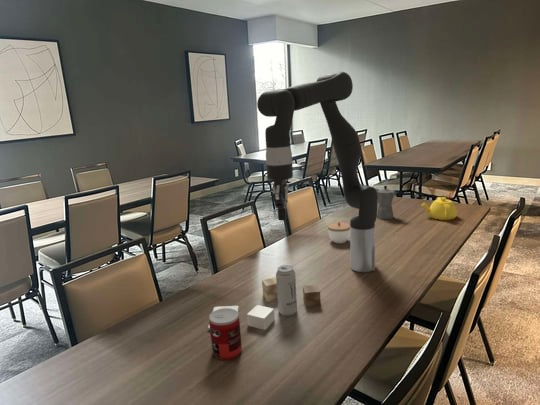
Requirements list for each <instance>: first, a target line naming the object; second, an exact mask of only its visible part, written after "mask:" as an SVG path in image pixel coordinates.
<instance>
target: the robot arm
mask: <svg viewBox="0 0 540 405" xmlns="http://www.w3.org/2000/svg"><path fill="white" fill-rule="evenodd" d="M353 87H354V86H353V80H352V78H351V75H349V73H347V72H345V71H336V72H332V73H328V74H324V75H320V76H319V77H318V78H317V79H316V81H312V82H307V83H301V84H300V83H299V84H296V85H292V86H289V87H284V88H281V89H280V88H279V89H273V90H266V91H264V92H262V93H261V94H260V96H259V97H258V98H257V102H256V104H257V105H256V107H257V109H258V112H259V113H260V114H261V115H263V116H264V117H268V118H273V117H276V118H275V121H274V124H272V125H269V126H268V127H266V128H265V165H266V179H267V180H270V181H274V185H272V191H273V192H272V199H273V204H274V207H275V208H276V209H277V215H278V216H277V218H278V221H286V220H287V205H288V202H289V201H288V200H289V199H288V198H289V187H290V186H289V183H287V180H290V179H292V178H293V176H294V172H293V171H294V170H293V152H292V148H291V147H292V146H291V128H292V122H293V117H294V113H295V111H299V110H303V109H306V108H309V107H311V106H314V105H317V104H320V107H321V110H322V112H323V115H324V118H325V121H326V123H327V126H328V131H329V134H330V137H331V141H332V145H333V150H334V154H335V156H336V160H337V163H338V166H339V173H340V175H341V180H342V187H343V193H344V198H345V201H346V204H347V205H348V206H349V207H350V208H354V209H358V216H357V215H356V216H353V217H352V218H350V221H349V224H350V237H349V239H350V240H349V241H350V242H349V245H350V248H349V249H350V251H349V252H350V253H349V254H350V260H349V261H350V263H349V264H350V269H351V270H353V271H355V272H357V273H358V272H359V273H368V272H369V273H370V272H375V271H376V245H375V243H376V242H375V240H376V239H375V238H376V235H375V234H376V233H375V232H376V230H375V229H376V228H375V227H376V221H377V219H378V218H377V213H378V207H379V203H378V195H377V191H376V189H377V188H375V187H374V186H371V185H364V184H362V183H361V182H360V179H359V175H358V167H359V164H360V161H361V160H360V159H361V156H362V146H361V143H360V142H361V141H360V136H359V134H358V133H357V130H355V128H354V127H353V125H352V124H351V123H350V122H349V121H347V119H346V118H345V117H344V116H343V115H342V114H341V112H340V109H339V107H338V104H337V102H341V101H343V100H346V99H348V98H349V97H350V96H351V95H352V92H353Z"/></svg>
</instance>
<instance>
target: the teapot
mask: <svg viewBox="0 0 540 405" xmlns="http://www.w3.org/2000/svg"><path fill="white" fill-rule="evenodd" d="M421 207H422V208H423V209H424V210H425V211H426V212H427V213H428V216H429V217H430V218H431V219H433V218H434V219H433V220H436V219H439V220H438V221H452V220H454V219H455V218H456V217H457V216H458V210H457V207H456V205H455V204H454V202H453V201H452V200H450V199H448V198H446V196H445V197H444V196H442V197H440V196H438V197H436V199H435V200H434V201H433V202H432V203H431V204H430V207H429V206H428V204H427V203H426V202H423V203H421ZM451 219H452V220H451Z"/></svg>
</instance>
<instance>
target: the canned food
mask: <svg viewBox="0 0 540 405" xmlns="http://www.w3.org/2000/svg"><path fill="white" fill-rule="evenodd" d="M209 325H210V331H209V332H210V341H211V342H210V343H211V350H212V353H213V354H212V355H214V357H215V358H217V359H219V360H224V361H225V360H226V361H227V360H232V359H235V358H237V356H239V355H240V354H241V352H242V348H243V347H242V335H241V334H242V333H241V324H240V315H239V311H238V312H237V311H236V310H234V309H230V308H223V309H218V310H216V311H214V312H213V311H212V312H210V313H209V316H208V326H209Z"/></svg>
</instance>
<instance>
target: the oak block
mask: <svg viewBox="0 0 540 405" xmlns="http://www.w3.org/2000/svg"><path fill="white" fill-rule="evenodd" d="M261 283H262V286H261V287H262V296H263V298H264V299H265V301H266V302H267V303H269V302H273V301H278V299H277V283H276V276H275V277H271V278H265V279H261Z"/></svg>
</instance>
